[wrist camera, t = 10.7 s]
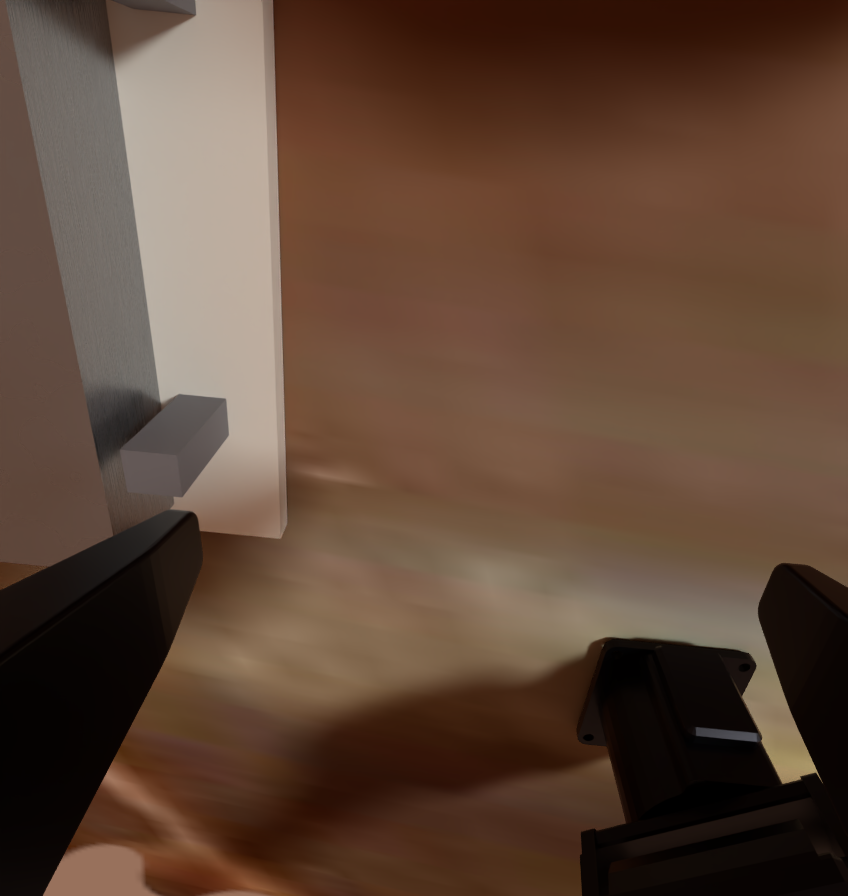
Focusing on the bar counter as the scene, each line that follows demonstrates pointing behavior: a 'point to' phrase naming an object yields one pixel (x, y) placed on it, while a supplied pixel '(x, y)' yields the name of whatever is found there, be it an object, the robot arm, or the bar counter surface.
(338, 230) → the bar counter surface
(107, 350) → the grey square bar
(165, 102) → the collar stand
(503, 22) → the bar counter surface
